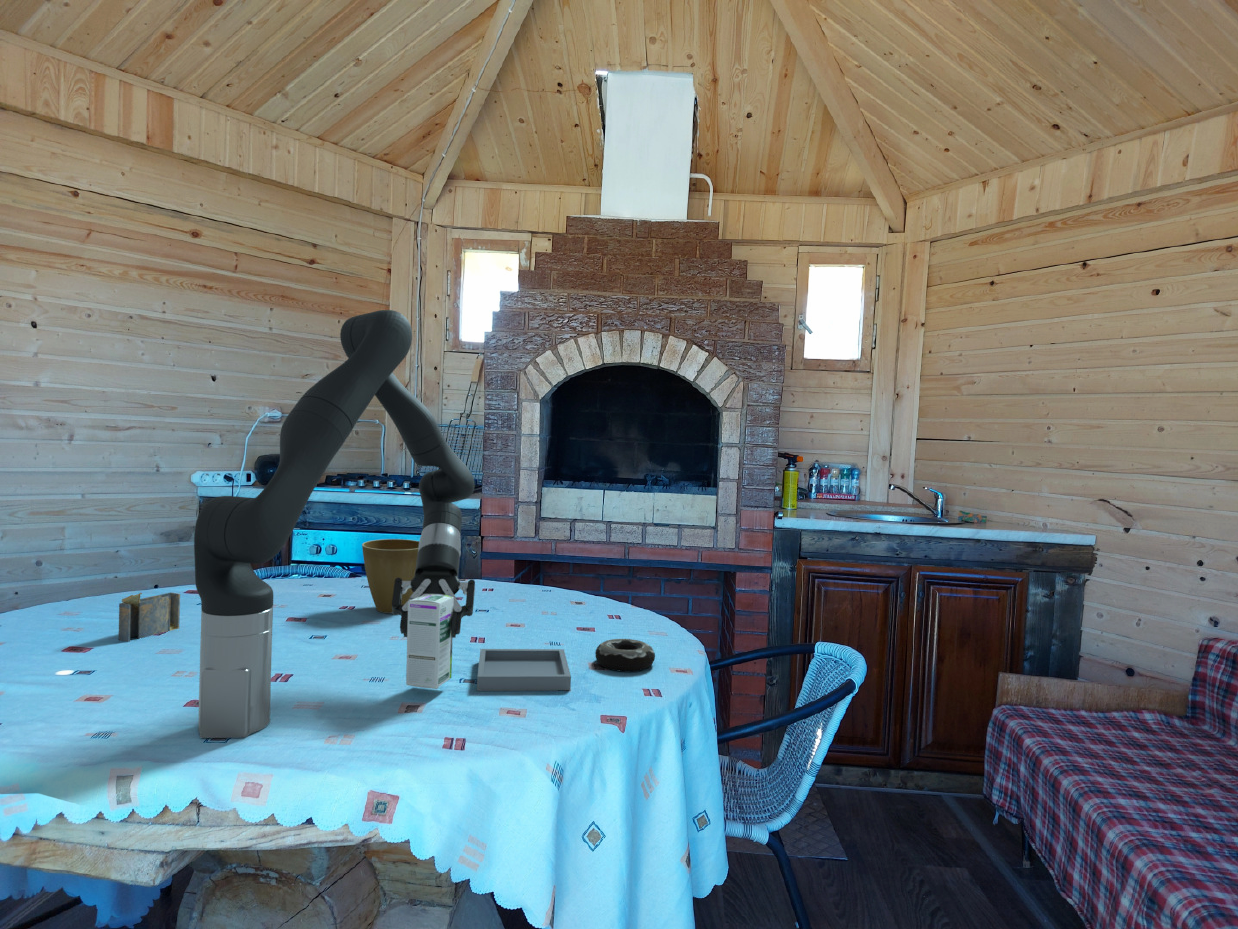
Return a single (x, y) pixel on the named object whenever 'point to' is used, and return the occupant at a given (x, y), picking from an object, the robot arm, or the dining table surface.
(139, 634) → the weathered flanged block
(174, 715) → the dining table surface
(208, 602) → the robot arm
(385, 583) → the plant pot
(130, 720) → the dining table surface
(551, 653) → the tray
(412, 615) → the syrup box
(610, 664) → the donut
